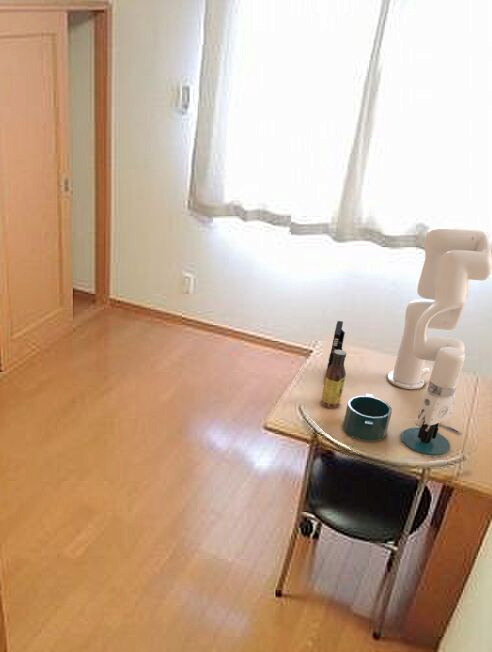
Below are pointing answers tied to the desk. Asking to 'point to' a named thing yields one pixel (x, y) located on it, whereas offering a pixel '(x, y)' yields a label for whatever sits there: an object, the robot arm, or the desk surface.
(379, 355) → the desk surface
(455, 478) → the desk surface
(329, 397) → the sauce bottle
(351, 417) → the pot
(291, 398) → the desk surface
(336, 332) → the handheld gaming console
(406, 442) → the lid
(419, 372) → the robot arm
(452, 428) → the ballpoint pen
